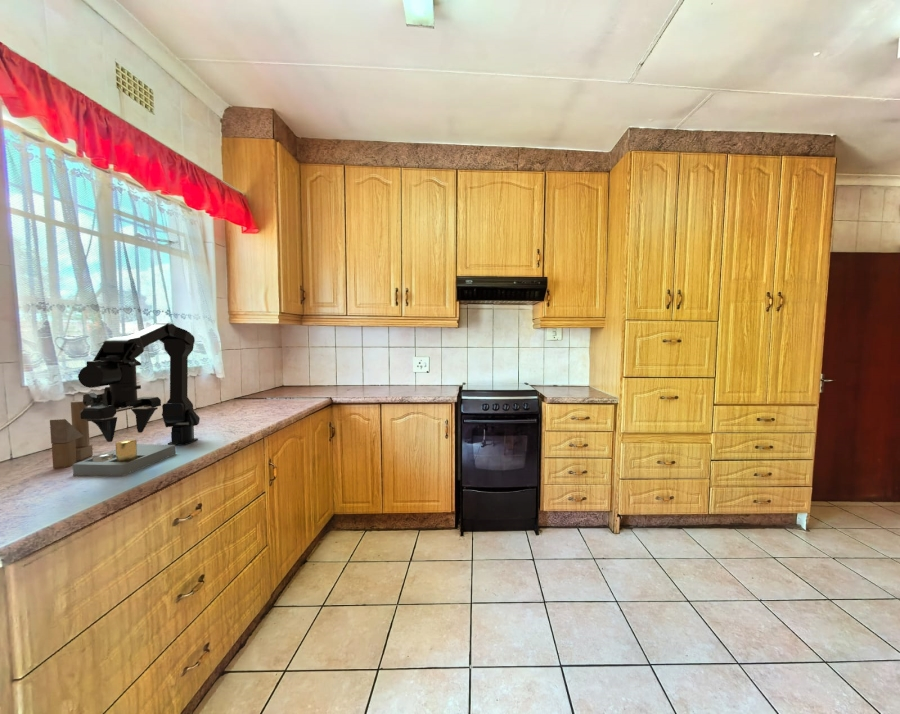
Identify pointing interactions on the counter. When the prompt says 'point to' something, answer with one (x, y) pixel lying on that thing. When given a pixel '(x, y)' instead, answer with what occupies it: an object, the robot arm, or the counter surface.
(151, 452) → the jig
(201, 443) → the counter surface
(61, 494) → the counter surface
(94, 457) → the chrome sphere
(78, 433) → the wooden block
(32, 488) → the counter surface
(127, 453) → the brass cylinder
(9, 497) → the counter surface
